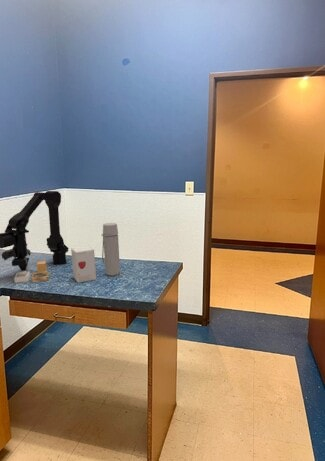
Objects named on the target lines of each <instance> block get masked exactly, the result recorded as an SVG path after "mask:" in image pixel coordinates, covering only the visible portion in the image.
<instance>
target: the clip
mask: <svg viewBox="0 0 325 461" xmlns="http://www.w3.org/2000/svg"><path fill="white" fill-rule="evenodd" d="M26 272H27V275H26V276H21V277H18V274H19V271H18V272H17V271H16V273H15V275H14V277H13V278H14V283H15V284H16V283H17V284H18V283H26V282H29V280H30V279H31V273H30V272H31V271H26Z"/></svg>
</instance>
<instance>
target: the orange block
mask: <svg viewBox="0 0 325 461" xmlns="http://www.w3.org/2000/svg"><path fill="white" fill-rule="evenodd" d="M36 269H37V273H38V272H47V271H48V269H47V260H43V261H37V263H36Z"/></svg>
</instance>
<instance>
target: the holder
mask: <svg viewBox="0 0 325 461" xmlns="http://www.w3.org/2000/svg"><path fill="white" fill-rule="evenodd" d="M49 278H50V271H48V270H47V272H38V271H37V272H32V274H31V276H30V282H31V283H33V284H34V283H42V282H48V281H49V280H50V279H49Z"/></svg>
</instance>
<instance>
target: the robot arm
mask: <svg viewBox="0 0 325 461" xmlns="http://www.w3.org/2000/svg"><path fill="white" fill-rule="evenodd" d="M43 201H44V202H45V205H46V206H47V207H48V217H49V219H48V220H49V221H48V222H49V232H50V234H49V237H47V238H46V246H47V248H48V249H49V250H50V253H53V254H52V263H53V264H54V266H55V265H63V264H67V261H68V260H67V254H66V253H68V252H69V247H68V246H67V245H66V244H65V242H64V238H63V237H62V235H61V230H60V229H61V228H60V213H59V212H60V211H59V207H60V205H61V202H62V194H61V192H60V191H58V190H47V191H46V192H42V191H41V192H40V191H38V192H37V191H36V192H35V193H34V194H33V196H32V197H31V198H30V200H29V201H28V202H27V203H26V204H25V205H24V206H23V208H22V209H21V210H20V211H19V212H17V213H16V214H14V215H13V216H11V217H10V219H9V220H8V223H7V226H6V228H5V230H4V232H0V249H4V248H5V249H6V248H8V247H12V248H10V249H8V250H6V251H3V252H2V253H1V258H2V259H3V260H4V261H7V260H8V259H11V258H13V259H12V260H11V266H13V267H15V266H18V267H19V271H24V270H26V271H27V268H28V265H29V260H30V256H31V255H32V252H31V250H30V249H28V243H27V237H26V236H27V235H26V234H28V233H29V232H30V231H29V230H28V229H27V228H26V227H27V226H28V224H29V221H30V217H31V216H32V215H33V213H34V212H35V211H36V209H37V208H39V206H40V204H42V202H43Z"/></svg>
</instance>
